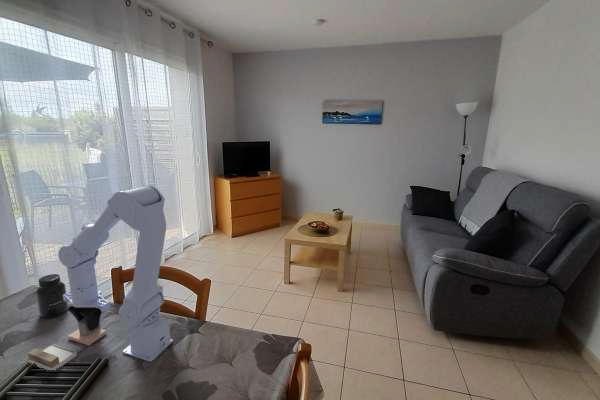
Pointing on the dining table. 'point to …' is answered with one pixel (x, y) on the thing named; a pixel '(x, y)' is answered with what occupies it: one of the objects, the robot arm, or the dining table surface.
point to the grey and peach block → (86, 333)
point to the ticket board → (59, 354)
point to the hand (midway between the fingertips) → (90, 327)
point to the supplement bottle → (51, 296)
